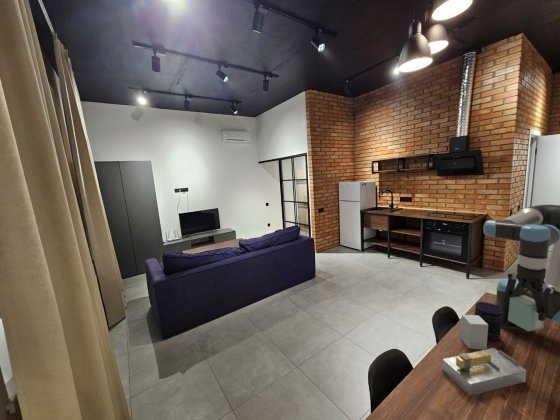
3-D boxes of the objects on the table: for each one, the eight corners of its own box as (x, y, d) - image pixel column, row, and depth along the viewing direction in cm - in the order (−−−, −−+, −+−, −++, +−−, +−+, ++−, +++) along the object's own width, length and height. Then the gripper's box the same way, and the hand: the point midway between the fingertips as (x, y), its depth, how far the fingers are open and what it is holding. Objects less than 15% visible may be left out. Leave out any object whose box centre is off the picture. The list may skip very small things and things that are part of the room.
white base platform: (492, 358, 103) (493, 345, 102) (525, 381, 91) (526, 368, 90) (442, 369, 99) (443, 356, 98) (469, 395, 87) (470, 381, 86)
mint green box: (522, 317, 97) (524, 294, 96) (543, 328, 91) (546, 303, 89) (507, 320, 96) (510, 297, 95) (528, 331, 90) (530, 306, 88)
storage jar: (485, 343, 111) (487, 314, 109) (468, 329, 121) (470, 302, 118) (505, 341, 111) (508, 312, 109) (487, 327, 121) (489, 301, 119)
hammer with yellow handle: (454, 366, 94) (455, 354, 93) (484, 360, 96) (484, 348, 95) (461, 372, 91) (462, 360, 90) (492, 366, 93) (493, 354, 92)
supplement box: (487, 350, 107) (489, 325, 105) (468, 348, 109) (470, 324, 107) (477, 338, 114) (478, 315, 112) (459, 337, 116) (461, 314, 114)
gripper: (575, 275, 80) (567, 335, 84) (510, 255, 100) (506, 305, 103) (557, 278, 79) (550, 339, 83) (495, 257, 99) (491, 308, 102)
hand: (525, 320), depth 93 cm, fingers closed on mint green box, 7 cm apart
